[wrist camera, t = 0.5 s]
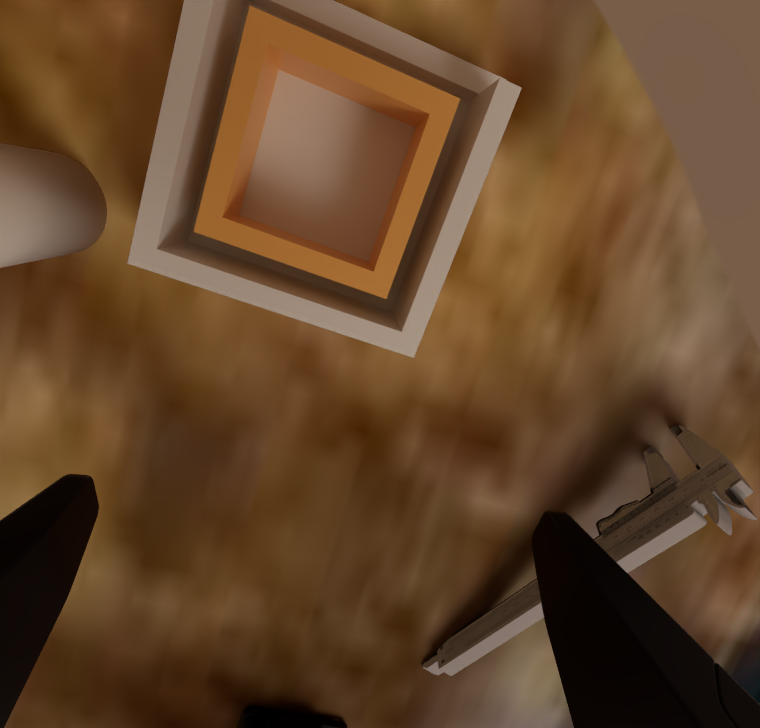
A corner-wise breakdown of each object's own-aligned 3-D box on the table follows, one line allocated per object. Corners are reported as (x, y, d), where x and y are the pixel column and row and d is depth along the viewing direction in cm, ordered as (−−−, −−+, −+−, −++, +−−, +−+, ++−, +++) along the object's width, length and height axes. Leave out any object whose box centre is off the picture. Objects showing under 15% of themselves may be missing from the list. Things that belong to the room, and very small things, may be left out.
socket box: (399, 328, 23) (413, 357, 19) (169, 251, 21) (127, 263, 17) (490, 91, 20) (532, 61, 16) (235, -25, 18) (203, -93, 14)
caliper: (671, 418, 26) (770, 482, 20) (684, 430, 26) (784, 496, 20) (420, 660, 30) (441, 773, 24) (434, 668, 30) (457, 781, 24)
